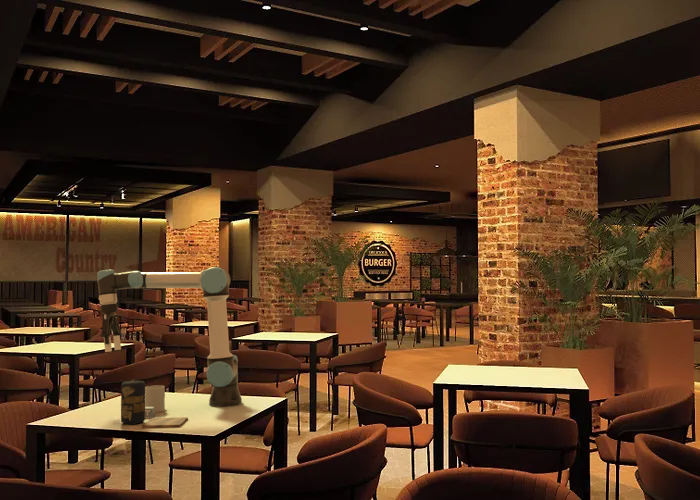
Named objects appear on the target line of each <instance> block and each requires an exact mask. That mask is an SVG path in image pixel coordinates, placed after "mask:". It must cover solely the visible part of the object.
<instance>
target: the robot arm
mask: <svg viewBox="0 0 700 500" xmlns="http://www.w3.org/2000/svg"><path fill="white" fill-rule="evenodd" d="M96 277H97V278H96V279H97V281H96V283H97V288H98V300H99V304H100V306H99V308H100V314H102V317H101V318H102V324H101V325H102V326H101V338H103V342H104V352H105V353H108V352H112V351H113V350H112V340H111V336H110V335H111V330H112V334H113V345H114V346H113V347H114V351H120V350H122V344H121V336H122V334H123V333H122V331H121V328H120V322H119V319H118V314H117V312H119V306H118V295H117V291H118V290H126V289H201V290H202V297H203V299H204V300H206V305H207V308H206V309H207V323H208V339H209V355H208V356H206V358H207V362H206V363H207V369H206V374H205V375H206V379H207V381H208V383H209V384H210V385H212V389H211V393H210V396H209V401H208V404H209V406H212V407H233V406H238V405H241V404H242V403H243V401H242V396H241V392H240V390H239V385H238V384H239V383H238V382H239V381H238V380H239V377H238V375H239V372H238V369H239V367H238V366H239V365H238V363H239V360H238V356H237V355H235V354H233V353H231V352H230V342H229V341H230V340H229V328H228V327H229V326H228V325H229V324H228V311H227V310H228V309H227V299H228V298H229V296H230V289H229V287H230V285H231V276H230V273H229V272H228V270H226V269H224V268H222V267H218V266H213V267H212V266H211V267H208V268H207V269H203V270H201V271H191V272H190V271H185V272H183V271H181V272H180V271H178V272H176V271H172V272H169V271H167V272H166V271H165V272H164V271H163V272H158V271H157V272H154V271H152V272H145V271H143V272H141V271H140V270H131V271H125V272H119V273H118V272H115V269H103V270H99V271H98V272H97V276H96Z"/></svg>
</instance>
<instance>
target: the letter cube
mask: <svg viewBox="0 0 700 500" xmlns="http://www.w3.org/2000/svg"><path fill="white" fill-rule="evenodd" d="M155 414H156V413H155V407H145V419H146V418H147V419H148V418H150V419H151V418H155Z"/></svg>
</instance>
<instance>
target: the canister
mask: <svg viewBox="0 0 700 500" xmlns="http://www.w3.org/2000/svg"><path fill="white" fill-rule="evenodd" d="M145 387H146V382H145V381H144V380H137V379H135V378H133V379H132V380H126V381H123V382H122V383H121V387H120V388H121V389H120V390H121V391H120V422H121V423H122V424H126V425H136V424H142V423H144V422H145V421H146V418H145Z"/></svg>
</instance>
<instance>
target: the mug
mask: <svg viewBox="0 0 700 500" xmlns="http://www.w3.org/2000/svg"><path fill="white" fill-rule="evenodd" d="M165 388H166V387H165V385H161V384H160V385H159V384H158V385H147V386H145V407H155V414H157V413H162V412H165V410H166V408H165V407H166V405H165V404H166V403H165V401H166V399H165V397H166V392H165Z"/></svg>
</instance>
